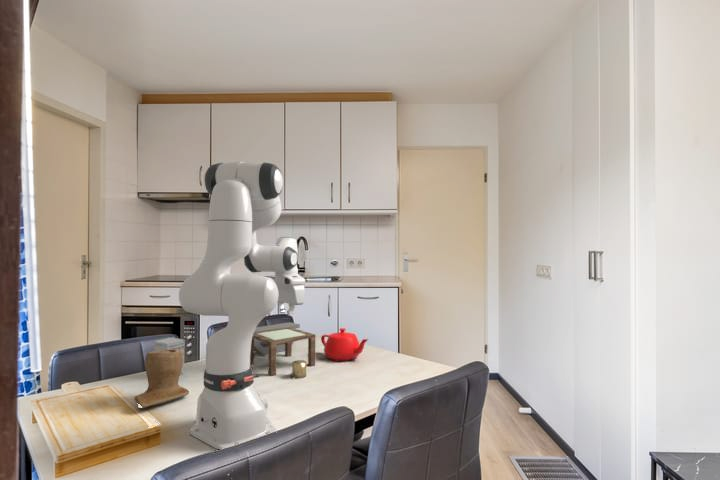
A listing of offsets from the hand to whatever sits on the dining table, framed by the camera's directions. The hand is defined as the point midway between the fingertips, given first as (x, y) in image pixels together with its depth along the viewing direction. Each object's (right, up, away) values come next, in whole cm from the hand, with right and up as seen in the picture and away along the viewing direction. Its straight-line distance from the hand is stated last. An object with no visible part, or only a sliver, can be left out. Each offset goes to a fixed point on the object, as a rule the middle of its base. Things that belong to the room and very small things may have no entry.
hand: (286, 314), depth 150 cm
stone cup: (-31, -20, -35) cm, 51 cm away
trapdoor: (-2, -9, +2) cm, 10 cm away
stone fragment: (-13, -20, -20) cm, 32 cm away
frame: (-2, -20, +2) cm, 21 cm away
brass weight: (+7, -20, -12) cm, 24 cm away
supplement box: (-40, -20, -12) cm, 46 cm away
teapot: (+22, -21, +12) cm, 33 cm away
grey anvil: (-11, -21, +22) cm, 32 cm away
